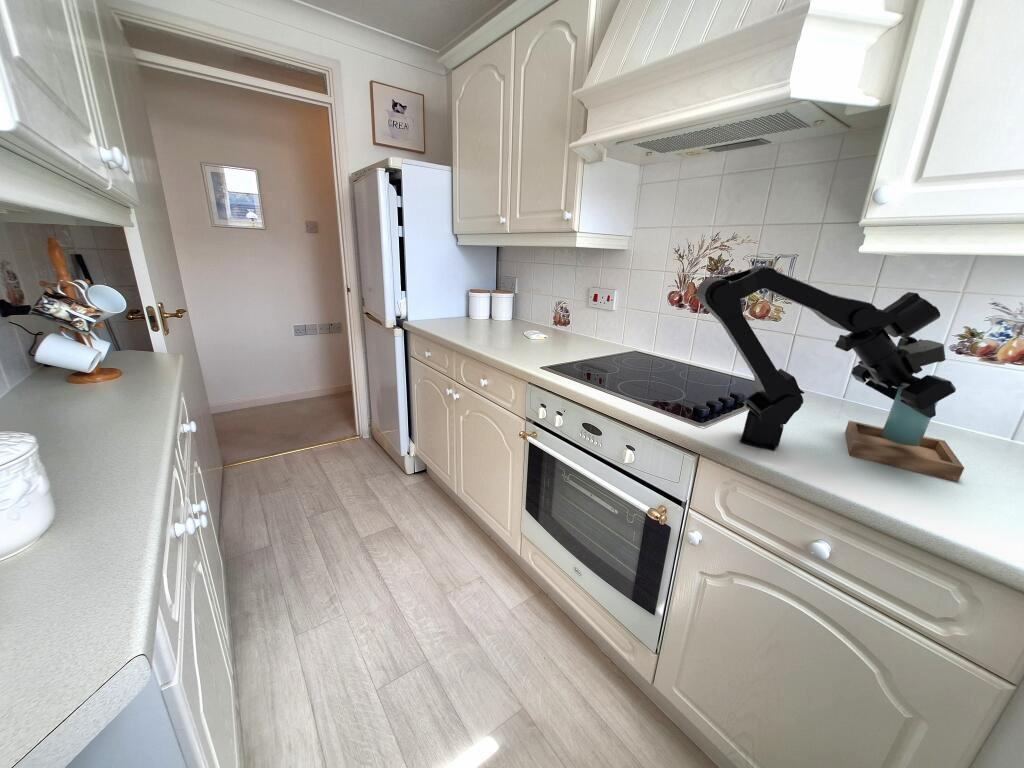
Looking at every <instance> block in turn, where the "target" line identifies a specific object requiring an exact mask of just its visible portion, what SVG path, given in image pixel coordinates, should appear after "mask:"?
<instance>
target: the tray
mask: <svg viewBox="0 0 1024 768" xmlns="http://www.w3.org/2000/svg"><path fill="white" fill-rule="evenodd" d="M883 429H884V427H882V426H877V425H873V424H872V425H871V424H867V423H863V422H857V421H853V420H848V422H847V425H846V428H845V431H844V434H845V439H846V444H847V446H846V447H847V450H848V455H849V456H850V457H856V458H860V459H864V460H868V461H871V462H874V463H875V462H876V463H880V464H882V465H883V464H884V465H887V466H892V467H896V468H900V469H903V470H908V471H912V472H915V473H920V474H923V475H924V474H925V475H928V476H931V477H935V478H940V479H945V480H948V481H952V482H955V483H958V482H959V481H960V478H961V476H962V474H963V472H964V470H965V466H964V465H963V464H962V462H961V461H960V459H959V458H958V456H957V455H956V454H955V453H954V451H953V450H952V449H951V447H950V445H949V444H948V443H947V442H946V440H942V439H939V438H933V437H929V436H925V435H924V436H923V439H922V441H921V444H920V445H919V446H908V445H903V444H899V443H895V442H892V441H890V440H887V439H885V438H884V437H882V435H881V434H882V431H883Z"/></svg>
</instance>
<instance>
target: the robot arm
mask: <svg viewBox="0 0 1024 768" xmlns="http://www.w3.org/2000/svg"><path fill="white" fill-rule="evenodd" d="M760 290H765V291H767V292H769V293H772V294H774V295H776V296H779V297H781V298H783V299H785V300H788V301H790V302H792V303H795V304H796V305H799V306H802V307H803V308H806V309H808V310H810V311H811V312H813V313H814V314H815V315H816V316H817V317H818V318H819V319H821V320H822V321H824V322H826V323H827V324H828V325H829V326H832V327H834V328H837V329H840V330H844V331H846V332H850V333H848V334H846V335H844V334H840V335H839V336H838V340H836V343H835V345H834V347H835V348H837V349H838V350H839V349H840V350H841V351H844V352H849V351H851V350H853V351H854V352H855V354H856V356H857V357H858V358H859V359H860V360H859V361H858V362H857V363H858V364H857V365H856V366H854V367H853V368H852V370H851V375H852V376H853V378H854V379H855V380H856V381H858V382H861V383H863V384H865V385H866V386H867V387H868V388H871V389H872V390H874V391H876V392H878V393H880V394H882V395H883V396H885V397H887V398H889V399H891V400H892V401H894V399H895V397H896V394H897V392H898V389H899V387H901V386H904V387H905V388H904V389H902V392H901V394H900V396H901V398H902V400H900V401H901V402H902V403H904V404H906V405H907V406H909V407H911V408H913V409H914V410H916V411H918V412H920V413H921V414H923V415H925V416H927V417H928V418H931V419H933V418H934V417H935V416H936V414H937V413H936V408H935V403H936V402H939V401H941V400H943V399H945V398H947V397H949V396H950V395H953V394H955V393H956V390H957V389H956V387H955V385H954V384H953V383H952V381H951V380H948V379H945V378H943V377H939V376H936V375H932V374H931V375H929V374H926V375H924V376H923V377H921V378H919V377H917V376H914V374H919V373H920V372H922V371H923V367H924V366H928V365H932V364H935V363H942V362H944V361H947V360H946V359H947V358H946V354H945V346H944V343H943V342H942V343H941V342H937V341H935V340H929V339H923V338H922V339H921V338H920V339H918V340H917V339H916V338H915V337H913V336H912V335H914V334H916V333H917V332H919V331H921V330H922V329H924V328H925V327H927V326H928V325H930V324H932V323H933V322H935V321H937V320H939V319H940V318H941V312H940V310H939V309H938V308H937V306H936V305H933V304H932V303H931V302H930V301H928V300H927V299H925V298H923V297H921V296H920V294H919V293H918V292H911V291H908V292H906V293H904V294H903V295H901V297H900V298H898V299H897V300H896V301H894V302H892V303H891V304H889V305H887V306H886V307H884V308H883V309H879V308H877V306H876V305H874V304H873V303H870V302H867V301H864V300H858V299H853V298H849V297H845V296H840V295H835V294H832V293H829V292H826V291H824V290H822V289H820V288H818V287H815V286H812V285H811V284H808V283H806V282H803V281H801V280H799V279H796V278H795V277H792V276H789V275H788V274H785V273H782V272H781V271H778V270H776V269H775V267H772V266H768V265H762V264H761V265H756V266H754V267H752V268H749V269H745V270H743V271H742V270H741V271H739V272H736V273H733V274H729V275H726V276H722V277H720V278H719V277H708V278H706V279H704V280H703V281H702V282H700V284H699V285H698V286H697V289H696V293H695V296H696V298H697V301H698V302H699V303H700V304H701V306H703V308H705V309H706V310H707V311H708V312H709V313H710V314H711V316H713V318H715V319H716V320H717V321H718V322H719V323H720V324H721V326H722V327H723V329H724V330H725V332H726V334H727V335H728V337H729V339H730V340H731V341H732V343H733V345H734V346H735V348H736V350H737V351H738V353H739V354H740V356H741V357H742V359H743V361H744V362H745V363H746V365H747V368H748V369H749V370H750V372H751V374H752V376H753V378H754V385H755V388H756V390H757V391H755V392H754V393H752V394H750V395H749V396H748V397H745V399H744V403H745V407H746V408H747V409H748V411H747V415H746V419H745V423H744V427H743V432H742V434H741V437H740V440H739V442H740V443H742V444H746V445H750V446H753V447H757V448H762V449H765V450H769V451H773V452H774V451H776V448H777V447H779V445H780V442H781V438H782V435H783V431H784V427H785V425H787V424H788V422H789V421H790V420H791V418H792V417H793V416H794V414H795V413H796V412H798V411H799V410H800V408H801V407H802V405H803V404H804V398H803V394H805V391H803V390H802V389H801V388H800V387H799V385H798V381H797V379H796V377H795V376H793V375H792V374H790V373H789V372H787V371H786V370H783V369H782V368H779V369H777V368H776V367H775V364H774V362H772V360H771V358H770V356H769V355H768V353H767V352H766V349H765V348H764V347H763V345H762V344H761V342H760V340H759V338H758V337H757V335H756V334H755V332H754V330H753V329H752V327H751V326H750V323H749V321H748V320H747V319H746V317H745V315H744V311H743V303H742V300H741V299H745V298H747V297H748V296H750V295H752V294H755V293H757V292H758V291H760ZM891 337H893V338H898V337H900V338H899V340H898V343H897V345H896V343H895V342H894V340H893V339H892V338H891Z"/></svg>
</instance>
